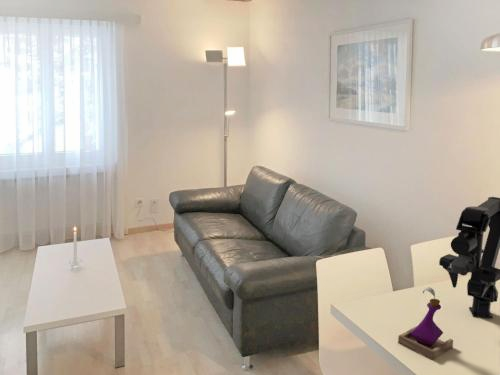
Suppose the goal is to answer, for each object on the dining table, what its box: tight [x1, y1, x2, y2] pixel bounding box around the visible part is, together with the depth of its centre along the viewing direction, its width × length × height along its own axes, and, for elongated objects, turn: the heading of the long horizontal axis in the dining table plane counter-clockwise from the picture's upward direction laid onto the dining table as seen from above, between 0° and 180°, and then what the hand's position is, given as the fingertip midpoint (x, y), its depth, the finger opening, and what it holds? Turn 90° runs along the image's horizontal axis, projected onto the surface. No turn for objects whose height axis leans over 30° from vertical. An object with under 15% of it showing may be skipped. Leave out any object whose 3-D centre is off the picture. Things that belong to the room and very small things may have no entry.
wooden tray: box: [397, 325, 454, 361], centre depth 152 cm, size 11×12×2 cm
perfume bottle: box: [411, 287, 444, 347], centre depth 151 cm, size 8×8×18 cm
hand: (467, 291), depth 159 cm, fingers open, 9 cm apart
